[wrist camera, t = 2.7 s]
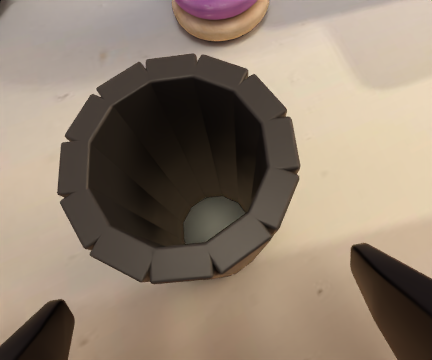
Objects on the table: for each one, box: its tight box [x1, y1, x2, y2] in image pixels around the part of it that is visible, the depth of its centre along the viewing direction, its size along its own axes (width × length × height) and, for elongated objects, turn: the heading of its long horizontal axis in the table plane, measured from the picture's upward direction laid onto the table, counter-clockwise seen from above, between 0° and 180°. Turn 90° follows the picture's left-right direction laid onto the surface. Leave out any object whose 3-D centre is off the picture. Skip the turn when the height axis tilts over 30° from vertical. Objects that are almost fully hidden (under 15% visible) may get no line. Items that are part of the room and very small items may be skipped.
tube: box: [57, 54, 300, 284], centre depth 14 cm, size 6×6×13 cm
